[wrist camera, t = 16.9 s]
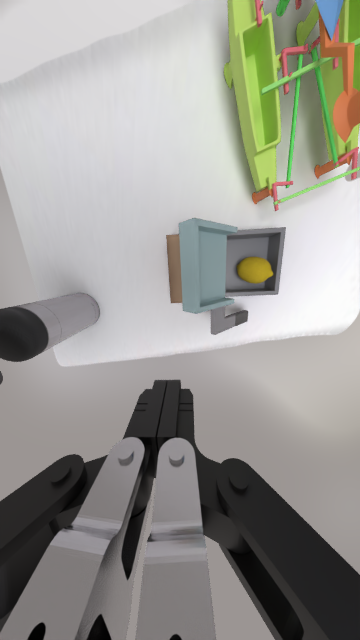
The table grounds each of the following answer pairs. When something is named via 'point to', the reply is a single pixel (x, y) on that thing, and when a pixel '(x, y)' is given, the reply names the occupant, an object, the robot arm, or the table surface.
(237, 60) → the catamaran
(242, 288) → the bin
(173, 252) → the pedestal
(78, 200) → the table surface
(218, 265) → the tray
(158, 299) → the table surface
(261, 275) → the lemon
